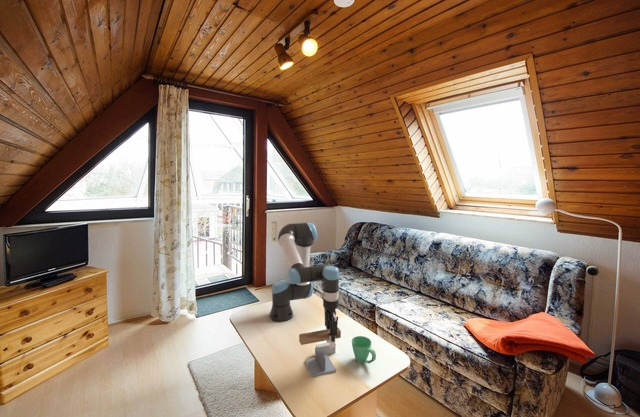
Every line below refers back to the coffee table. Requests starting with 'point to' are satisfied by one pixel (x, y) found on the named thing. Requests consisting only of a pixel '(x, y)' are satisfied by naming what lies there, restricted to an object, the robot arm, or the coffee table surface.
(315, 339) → the plank
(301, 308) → the coffee table surface
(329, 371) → the fulcrum
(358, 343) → the mug
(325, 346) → the post
